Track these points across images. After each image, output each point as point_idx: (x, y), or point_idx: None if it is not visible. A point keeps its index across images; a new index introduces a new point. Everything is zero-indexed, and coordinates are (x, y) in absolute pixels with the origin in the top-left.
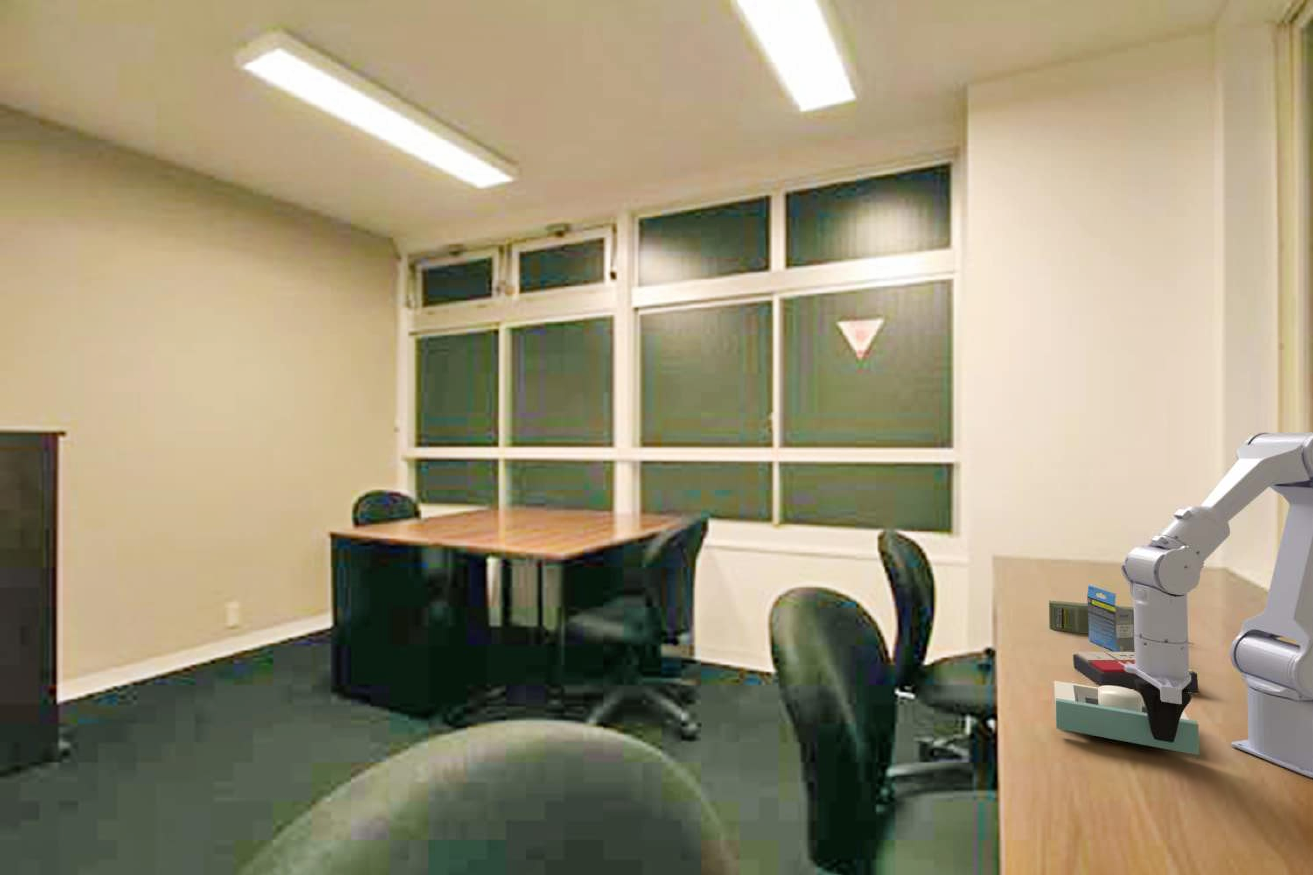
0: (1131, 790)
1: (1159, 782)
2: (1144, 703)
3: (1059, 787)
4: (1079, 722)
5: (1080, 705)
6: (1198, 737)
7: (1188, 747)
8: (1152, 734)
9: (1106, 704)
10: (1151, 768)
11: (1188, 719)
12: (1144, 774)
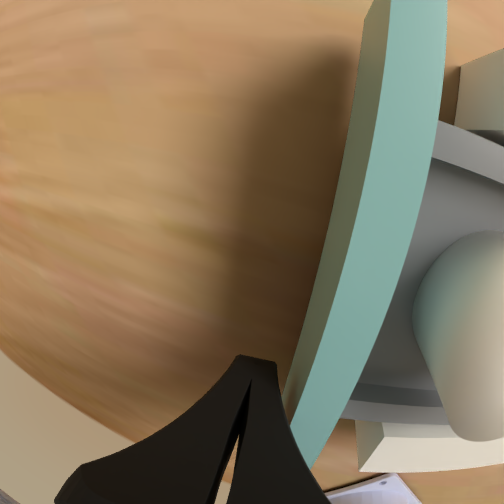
0: (44, 184)
1: (110, 267)
2: (288, 450)
3: (17, 40)
4: (361, 92)
5: (383, 82)
6: None
7: None
8: (235, 360)
9: (489, 276)
10: (192, 281)
11: (410, 471)
12: (140, 245)
